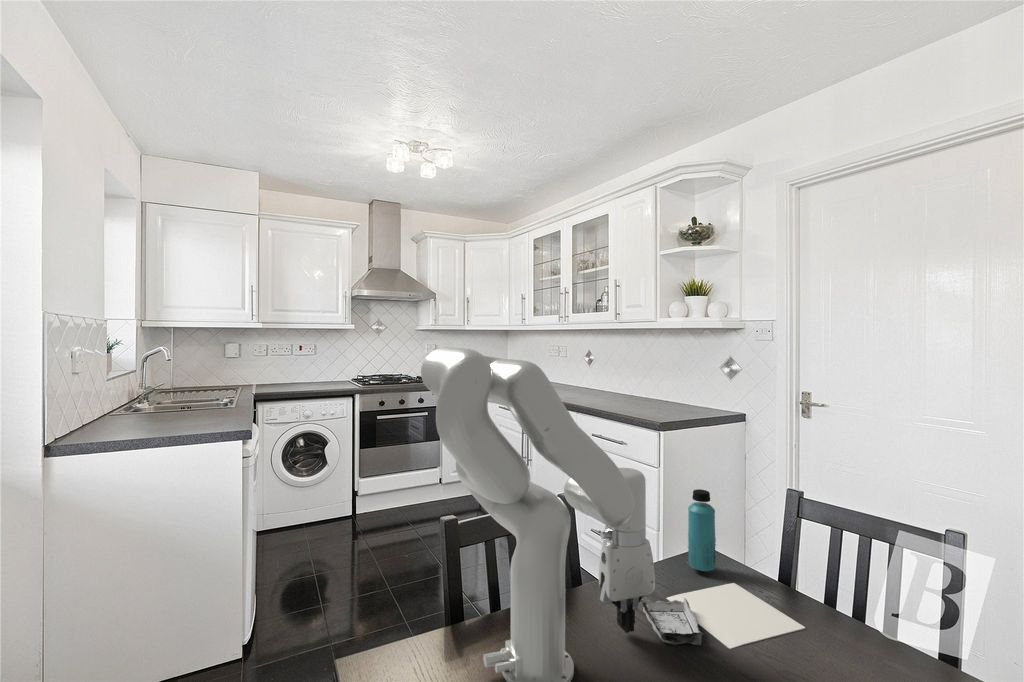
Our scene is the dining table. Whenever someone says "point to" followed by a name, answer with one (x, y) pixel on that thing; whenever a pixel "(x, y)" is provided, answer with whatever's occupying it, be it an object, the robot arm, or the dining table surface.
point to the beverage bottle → (701, 532)
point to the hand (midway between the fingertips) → (625, 628)
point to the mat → (736, 615)
